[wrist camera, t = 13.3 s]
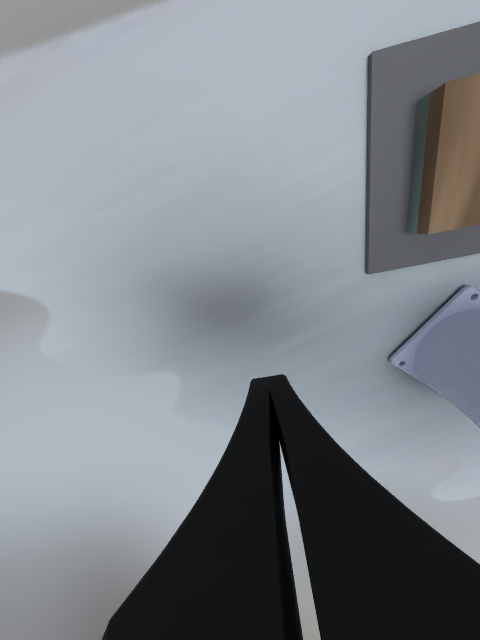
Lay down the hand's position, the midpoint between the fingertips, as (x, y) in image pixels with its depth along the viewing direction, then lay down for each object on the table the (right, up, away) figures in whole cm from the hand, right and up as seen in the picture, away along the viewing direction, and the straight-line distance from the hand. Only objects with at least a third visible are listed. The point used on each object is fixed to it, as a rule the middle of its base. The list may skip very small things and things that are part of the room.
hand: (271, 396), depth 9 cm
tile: (+9, +12, +4) cm, 16 cm away
